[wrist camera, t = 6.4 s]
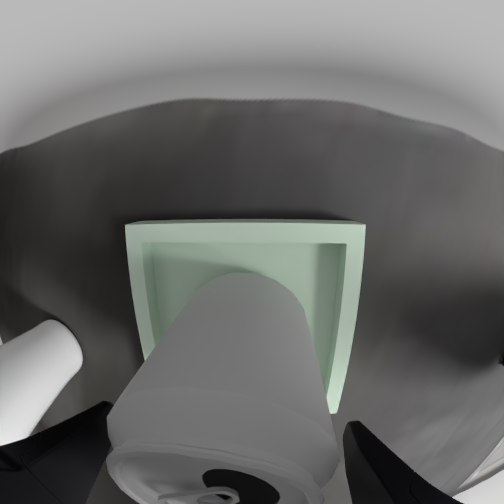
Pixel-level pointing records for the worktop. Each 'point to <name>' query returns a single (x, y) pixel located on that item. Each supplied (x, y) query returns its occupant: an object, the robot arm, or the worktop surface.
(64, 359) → the drinking glass
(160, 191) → the worktop surface
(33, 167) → the worktop surface
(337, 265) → the tray
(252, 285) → the can
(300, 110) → the worktop surface
